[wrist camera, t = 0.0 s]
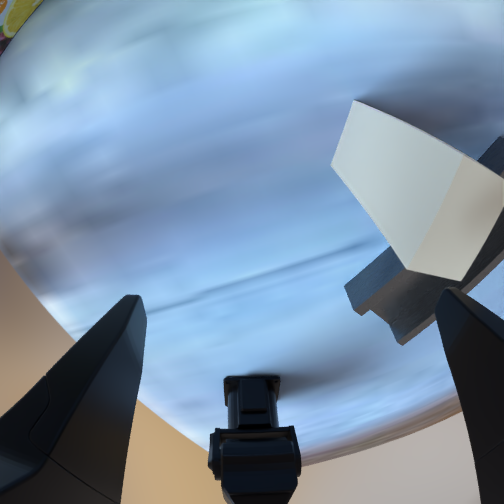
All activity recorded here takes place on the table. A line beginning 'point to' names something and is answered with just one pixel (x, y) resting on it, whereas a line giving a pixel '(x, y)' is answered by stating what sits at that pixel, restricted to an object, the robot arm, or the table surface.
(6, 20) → the snack box
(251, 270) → the table surface
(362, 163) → the cream rectangular block
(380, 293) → the bottom track
